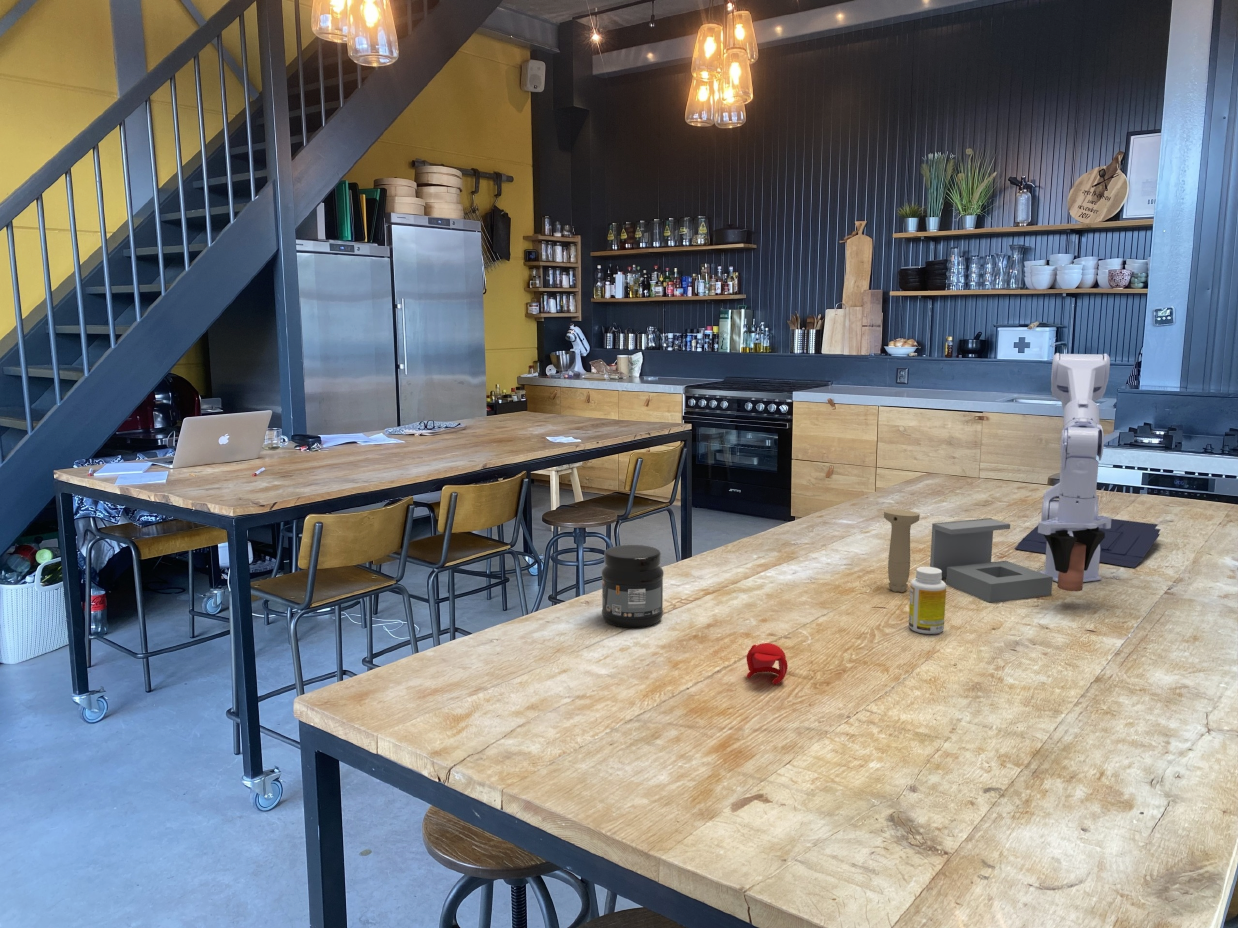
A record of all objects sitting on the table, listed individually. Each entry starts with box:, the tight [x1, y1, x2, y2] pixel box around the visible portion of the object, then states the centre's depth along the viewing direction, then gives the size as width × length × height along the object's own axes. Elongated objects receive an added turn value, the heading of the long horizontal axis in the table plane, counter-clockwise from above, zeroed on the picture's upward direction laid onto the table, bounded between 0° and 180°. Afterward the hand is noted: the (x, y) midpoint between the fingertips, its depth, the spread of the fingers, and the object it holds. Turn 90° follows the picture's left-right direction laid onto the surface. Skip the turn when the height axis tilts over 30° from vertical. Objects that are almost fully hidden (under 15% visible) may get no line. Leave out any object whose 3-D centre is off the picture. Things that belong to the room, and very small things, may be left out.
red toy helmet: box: [746, 642, 789, 685], centre depth 130 cm, size 7×6×6 cm
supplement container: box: [600, 544, 665, 629], centre depth 155 cm, size 10×10×12 cm
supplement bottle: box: [908, 566, 947, 635], centre depth 150 cm, size 6×6×10 cm
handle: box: [883, 508, 920, 593], centre depth 171 cm, size 5×6×15 cm
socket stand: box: [929, 517, 1053, 604], centre depth 174 cm, size 14×17×11 cm
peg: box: [1056, 542, 1086, 592], centre depth 162 cm, size 4×4×8 cm
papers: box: [1014, 518, 1162, 569], centre depth 205 cm, size 24×30×4 cm
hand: (1071, 570), depth 162 cm, fingers closed on peg, 4 cm apart
